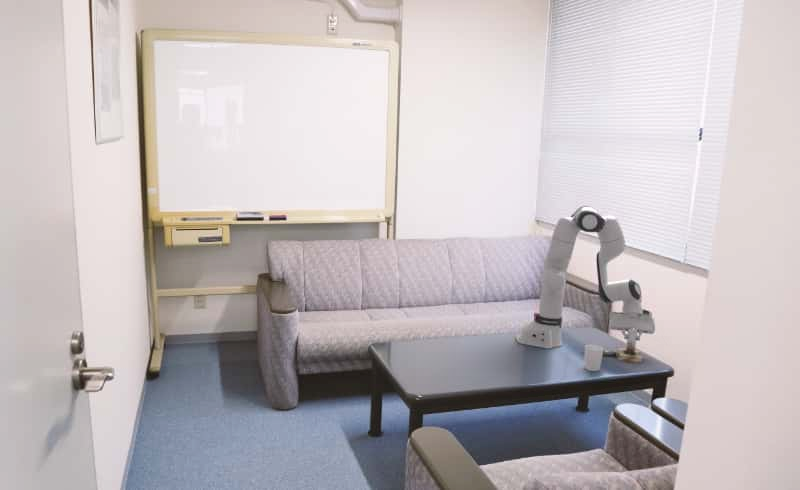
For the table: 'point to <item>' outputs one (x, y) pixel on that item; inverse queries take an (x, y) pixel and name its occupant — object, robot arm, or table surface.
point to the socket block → (629, 356)
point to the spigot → (631, 340)
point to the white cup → (593, 357)
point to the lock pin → (609, 353)
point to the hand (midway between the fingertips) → (632, 339)
